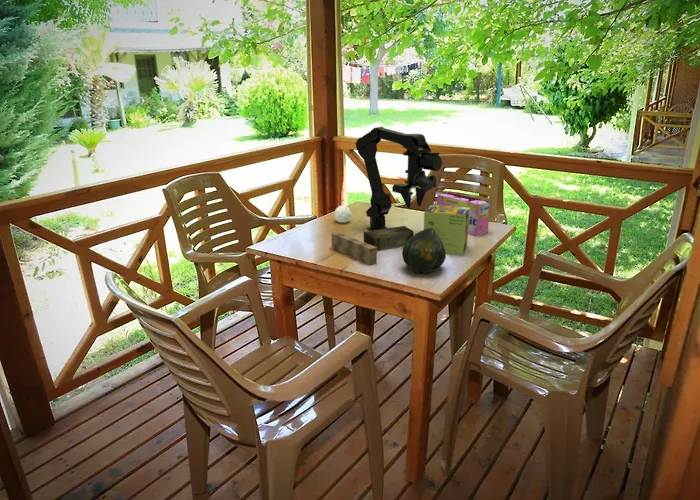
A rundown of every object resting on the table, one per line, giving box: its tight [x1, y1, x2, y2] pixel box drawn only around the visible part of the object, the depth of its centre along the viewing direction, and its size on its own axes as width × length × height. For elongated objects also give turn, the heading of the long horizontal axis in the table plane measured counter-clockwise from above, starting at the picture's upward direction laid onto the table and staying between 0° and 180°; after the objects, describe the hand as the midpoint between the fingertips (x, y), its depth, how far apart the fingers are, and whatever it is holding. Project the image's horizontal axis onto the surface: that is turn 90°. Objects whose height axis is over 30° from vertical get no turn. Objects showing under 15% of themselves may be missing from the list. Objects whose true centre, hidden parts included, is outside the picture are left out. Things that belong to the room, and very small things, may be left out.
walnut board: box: [331, 231, 378, 266], centre depth 183 cm, size 23×3×6 cm, turn 37°
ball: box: [333, 205, 352, 224], centre depth 223 cm, size 8×8×8 cm
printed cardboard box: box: [363, 225, 414, 252], centre depth 193 cm, size 8×19×6 cm, turn 116°
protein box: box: [423, 204, 470, 256], centre depth 187 cm, size 10×15×16 cm
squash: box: [401, 228, 447, 274], centre depth 169 cm, size 14×15×15 cm
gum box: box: [436, 191, 491, 237], centre depth 211 cm, size 24×8×14 cm, turn 38°
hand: (413, 207), depth 197 cm, fingers open, 5 cm apart
